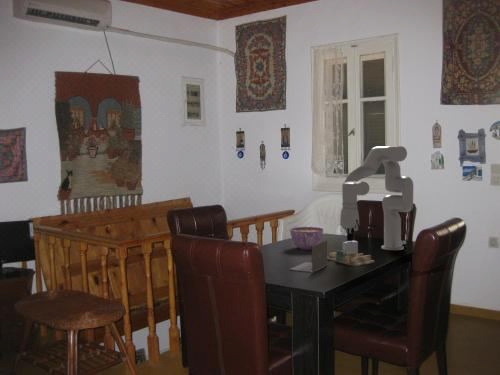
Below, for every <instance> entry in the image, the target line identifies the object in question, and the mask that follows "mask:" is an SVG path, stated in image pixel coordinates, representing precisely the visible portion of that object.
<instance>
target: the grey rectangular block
mask: <svg viewBox="0 0 500 375" xmlns="http://www.w3.org/2000/svg"><path fill="white" fill-rule="evenodd" d="M341 244H342V251H343V256H349V255H355V254H359V241H357V240H353V241H342V243H341Z"/></svg>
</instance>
